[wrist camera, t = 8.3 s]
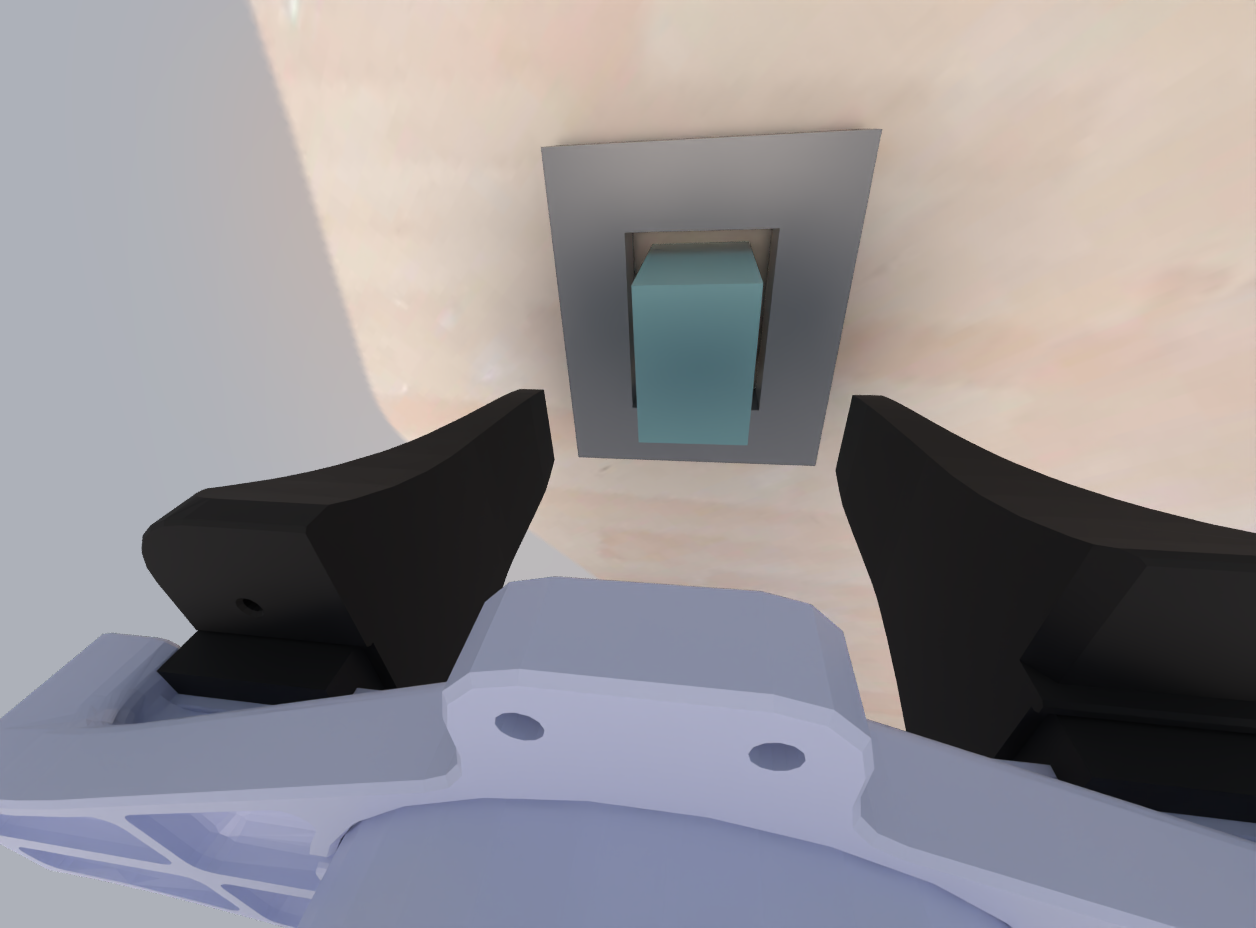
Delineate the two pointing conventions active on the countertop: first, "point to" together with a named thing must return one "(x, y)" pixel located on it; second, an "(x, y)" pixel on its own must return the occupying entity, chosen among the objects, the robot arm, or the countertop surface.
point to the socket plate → (697, 201)
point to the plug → (696, 342)
